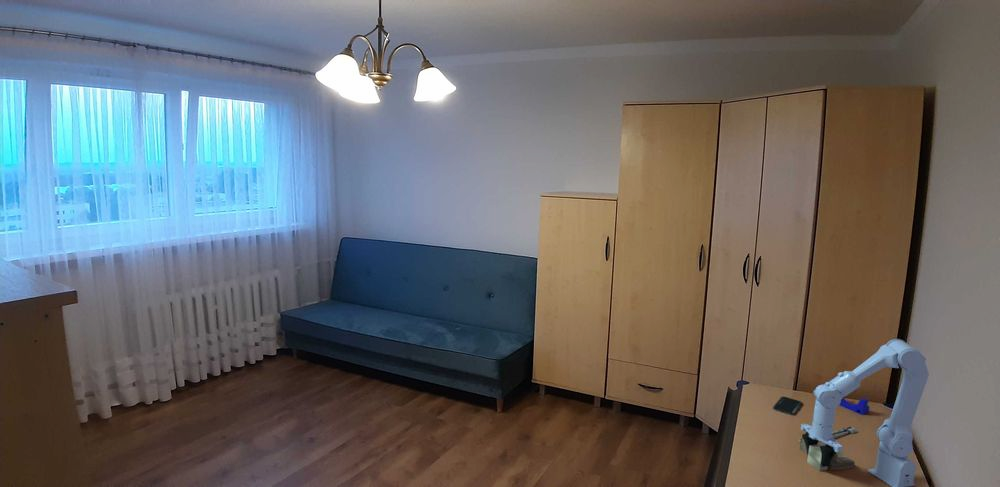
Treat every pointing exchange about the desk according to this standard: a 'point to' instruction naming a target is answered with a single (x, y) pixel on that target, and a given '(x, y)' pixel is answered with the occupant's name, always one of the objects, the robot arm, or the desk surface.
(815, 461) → the joiner mallet
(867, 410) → the blue u-shaped bracket
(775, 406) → the phone
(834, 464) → the brown flat block
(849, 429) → the flamethrower
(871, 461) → the desk surface
